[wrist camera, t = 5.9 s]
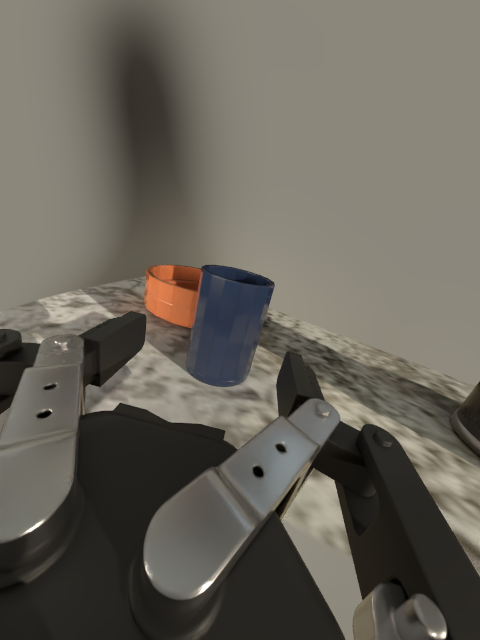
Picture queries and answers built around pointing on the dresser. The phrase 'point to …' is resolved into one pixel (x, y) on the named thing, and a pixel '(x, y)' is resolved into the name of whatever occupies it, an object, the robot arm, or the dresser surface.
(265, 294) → the blue cup
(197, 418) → the dresser surface
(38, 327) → the dresser surface
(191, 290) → the bowl
